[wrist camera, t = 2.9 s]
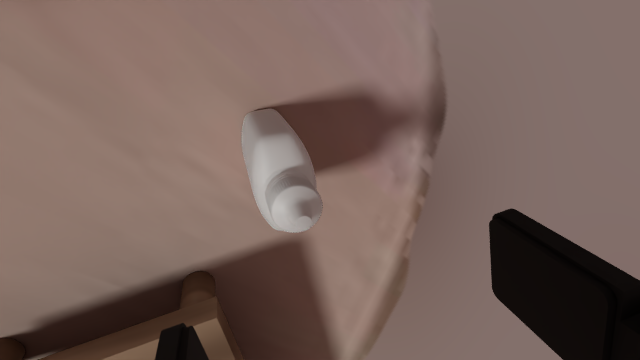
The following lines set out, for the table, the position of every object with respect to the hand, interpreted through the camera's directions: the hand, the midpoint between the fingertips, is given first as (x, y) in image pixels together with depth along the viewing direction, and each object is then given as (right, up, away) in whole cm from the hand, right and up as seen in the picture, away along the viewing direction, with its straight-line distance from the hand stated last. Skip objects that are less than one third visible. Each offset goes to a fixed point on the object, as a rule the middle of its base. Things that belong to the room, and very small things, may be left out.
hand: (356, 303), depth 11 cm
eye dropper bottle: (-5, +6, +15) cm, 17 cm away
